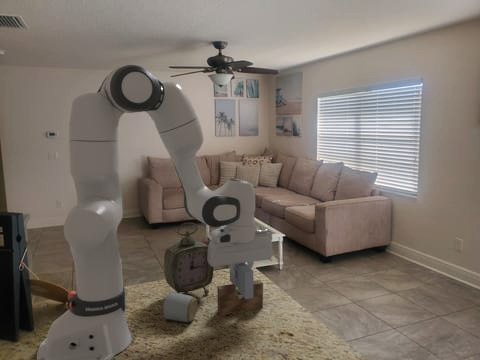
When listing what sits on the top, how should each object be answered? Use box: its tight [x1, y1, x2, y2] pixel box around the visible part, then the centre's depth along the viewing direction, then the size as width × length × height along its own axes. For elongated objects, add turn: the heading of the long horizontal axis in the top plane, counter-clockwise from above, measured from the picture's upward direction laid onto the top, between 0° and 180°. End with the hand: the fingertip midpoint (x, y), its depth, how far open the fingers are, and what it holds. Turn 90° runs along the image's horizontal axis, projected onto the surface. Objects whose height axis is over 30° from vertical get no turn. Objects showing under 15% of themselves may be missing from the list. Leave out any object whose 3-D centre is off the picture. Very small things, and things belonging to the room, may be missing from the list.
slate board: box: [229, 263, 254, 299], centre depth 116 cm, size 14×2×8 cm, turn 20°
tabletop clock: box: [163, 221, 215, 295], centre depth 126 cm, size 14×9×25 cm, turn 123°
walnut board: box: [216, 279, 264, 316], centre depth 117 cm, size 14×2×8 cm, turn 110°
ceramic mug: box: [162, 291, 198, 323], centre depth 113 cm, size 11×8×8 cm
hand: (240, 276), depth 116 cm, fingers closed on slate board, 2 cm apart
